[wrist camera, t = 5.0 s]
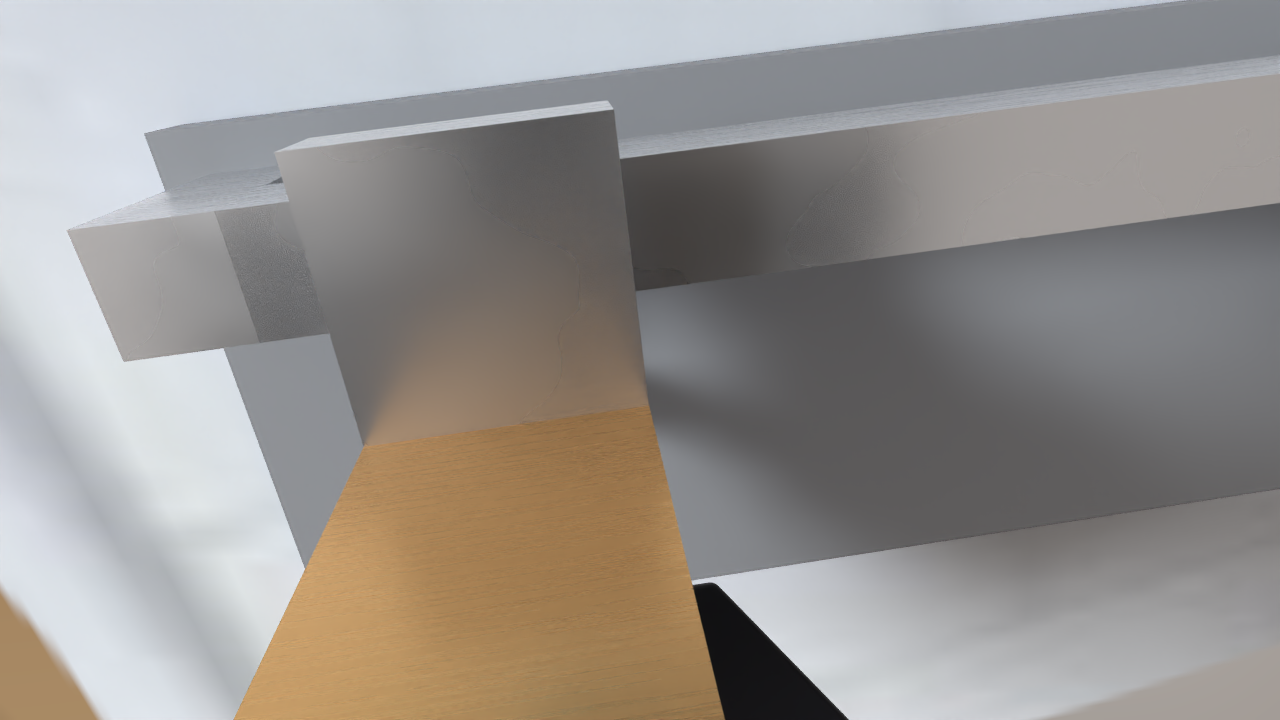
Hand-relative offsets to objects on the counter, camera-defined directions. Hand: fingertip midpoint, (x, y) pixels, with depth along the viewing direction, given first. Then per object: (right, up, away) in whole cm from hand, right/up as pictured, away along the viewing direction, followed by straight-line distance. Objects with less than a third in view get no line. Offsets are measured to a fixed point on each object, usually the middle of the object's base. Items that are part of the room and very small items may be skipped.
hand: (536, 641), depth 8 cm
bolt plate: (+7, +4, +7) cm, 11 cm away
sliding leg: (-1, +4, +5) cm, 6 cm away
